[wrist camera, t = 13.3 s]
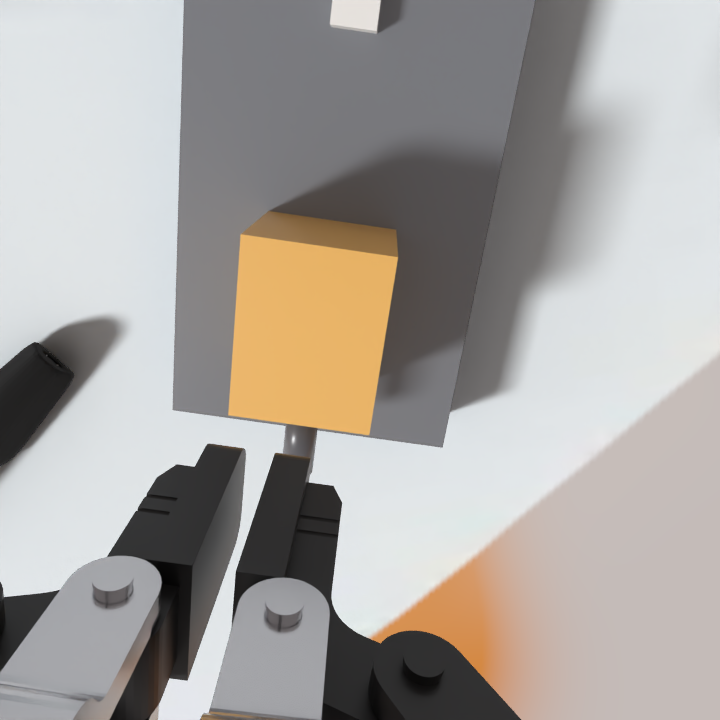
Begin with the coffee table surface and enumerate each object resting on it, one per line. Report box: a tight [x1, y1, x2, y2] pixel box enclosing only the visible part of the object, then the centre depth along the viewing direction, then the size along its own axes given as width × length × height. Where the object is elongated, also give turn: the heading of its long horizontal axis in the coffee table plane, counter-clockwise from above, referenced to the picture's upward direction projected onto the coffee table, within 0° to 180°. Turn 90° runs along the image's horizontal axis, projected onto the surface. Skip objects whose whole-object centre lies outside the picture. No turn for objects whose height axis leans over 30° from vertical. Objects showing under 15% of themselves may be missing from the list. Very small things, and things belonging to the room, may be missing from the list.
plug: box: [228, 211, 398, 474], centre depth 25 cm, size 9×5×8 cm, turn 172°
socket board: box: [173, 0, 535, 447], centre depth 25 cm, size 22×12×4 cm, turn 173°
